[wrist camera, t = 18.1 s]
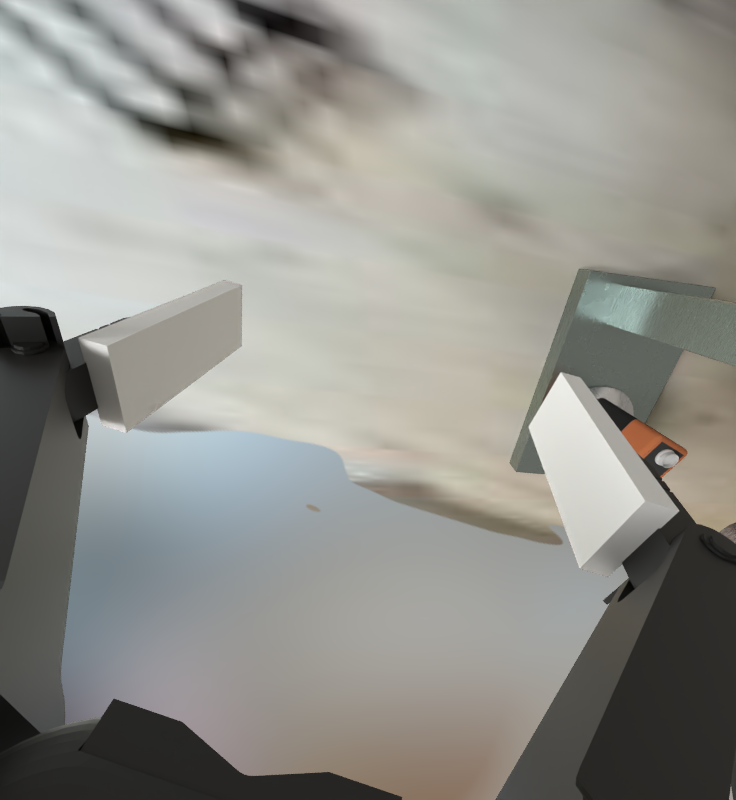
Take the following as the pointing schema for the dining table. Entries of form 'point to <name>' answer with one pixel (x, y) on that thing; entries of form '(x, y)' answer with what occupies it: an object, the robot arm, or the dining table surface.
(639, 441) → the battery
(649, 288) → the arbor press
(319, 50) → the dining table surface
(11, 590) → the robot arm
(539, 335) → the dining table surface
